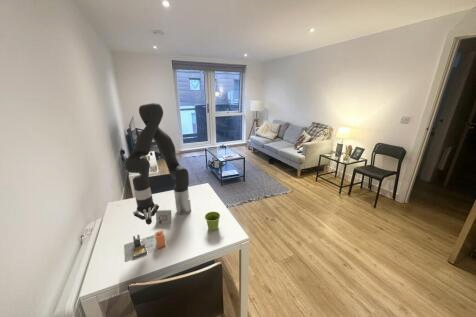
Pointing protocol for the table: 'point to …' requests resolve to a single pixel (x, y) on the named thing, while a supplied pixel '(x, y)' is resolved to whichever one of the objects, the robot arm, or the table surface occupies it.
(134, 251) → the panel
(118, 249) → the table surface
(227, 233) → the table surface
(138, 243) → the breaker slider
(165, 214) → the electrical switch
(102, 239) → the table surface
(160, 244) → the cap
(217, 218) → the plant pot
